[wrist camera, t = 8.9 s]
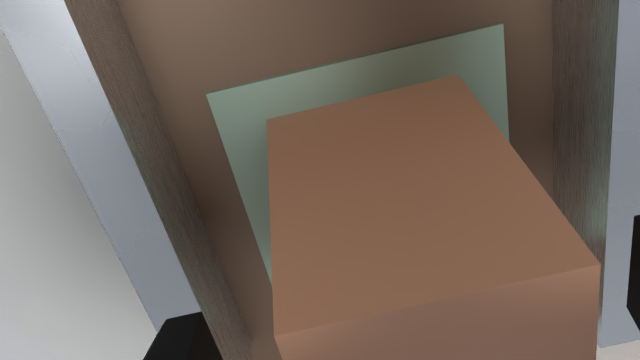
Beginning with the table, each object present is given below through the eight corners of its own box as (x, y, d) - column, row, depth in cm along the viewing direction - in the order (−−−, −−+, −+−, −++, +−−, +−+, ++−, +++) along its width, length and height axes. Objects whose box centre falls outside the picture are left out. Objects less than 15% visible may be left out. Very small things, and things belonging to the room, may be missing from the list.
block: (458, 74, 12) (600, 263, 7) (472, 227, 14) (591, 458, 9) (266, 119, 12) (273, 336, 7) (309, 264, 15) (337, 511, 9)
